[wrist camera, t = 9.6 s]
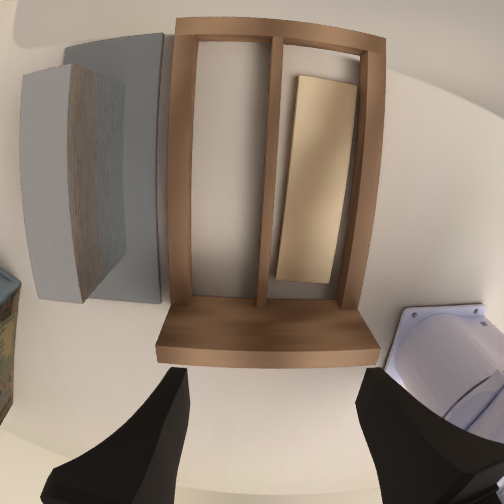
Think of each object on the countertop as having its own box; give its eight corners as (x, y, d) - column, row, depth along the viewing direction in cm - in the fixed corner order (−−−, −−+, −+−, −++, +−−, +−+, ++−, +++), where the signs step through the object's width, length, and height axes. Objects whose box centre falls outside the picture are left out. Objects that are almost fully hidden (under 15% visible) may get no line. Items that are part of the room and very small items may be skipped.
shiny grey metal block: (125, 84, 17) (71, 63, 10) (126, 253, 20) (82, 303, 14) (86, 89, 16) (23, 75, 10) (90, 251, 20) (38, 298, 14)
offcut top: (353, 87, 18) (357, 85, 17) (326, 279, 22) (328, 283, 21) (297, 77, 17) (299, 75, 17) (274, 275, 22) (275, 280, 21)
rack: (377, 43, 16) (421, 17, 11) (348, 314, 23) (375, 364, 17) (180, 25, 16) (157, -14, 10) (176, 309, 22) (157, 362, 17)
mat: (164, 34, 16) (162, 32, 16) (161, 301, 22) (160, 304, 22) (68, 49, 16) (65, 47, 15) (76, 294, 22) (74, 296, 21)
